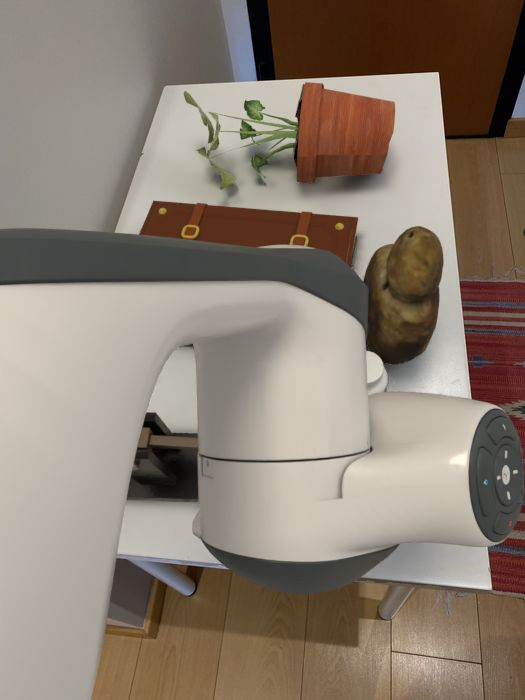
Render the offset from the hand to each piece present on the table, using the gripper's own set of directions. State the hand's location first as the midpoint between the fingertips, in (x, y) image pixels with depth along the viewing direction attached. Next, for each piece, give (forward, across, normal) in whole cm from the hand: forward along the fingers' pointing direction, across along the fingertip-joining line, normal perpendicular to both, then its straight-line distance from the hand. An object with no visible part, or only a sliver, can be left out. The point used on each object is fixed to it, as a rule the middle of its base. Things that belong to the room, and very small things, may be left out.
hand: (232, 436), depth 52 cm
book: (+18, -23, -2) cm, 29 cm away
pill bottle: (+2, -14, +14) cm, 20 cm away
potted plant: (+22, -46, -6) cm, 51 cm away
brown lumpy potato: (+2, -23, +14) cm, 27 cm away
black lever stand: (+14, +5, +1) cm, 15 cm away
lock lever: (+5, +2, -1) cm, 6 cm away
